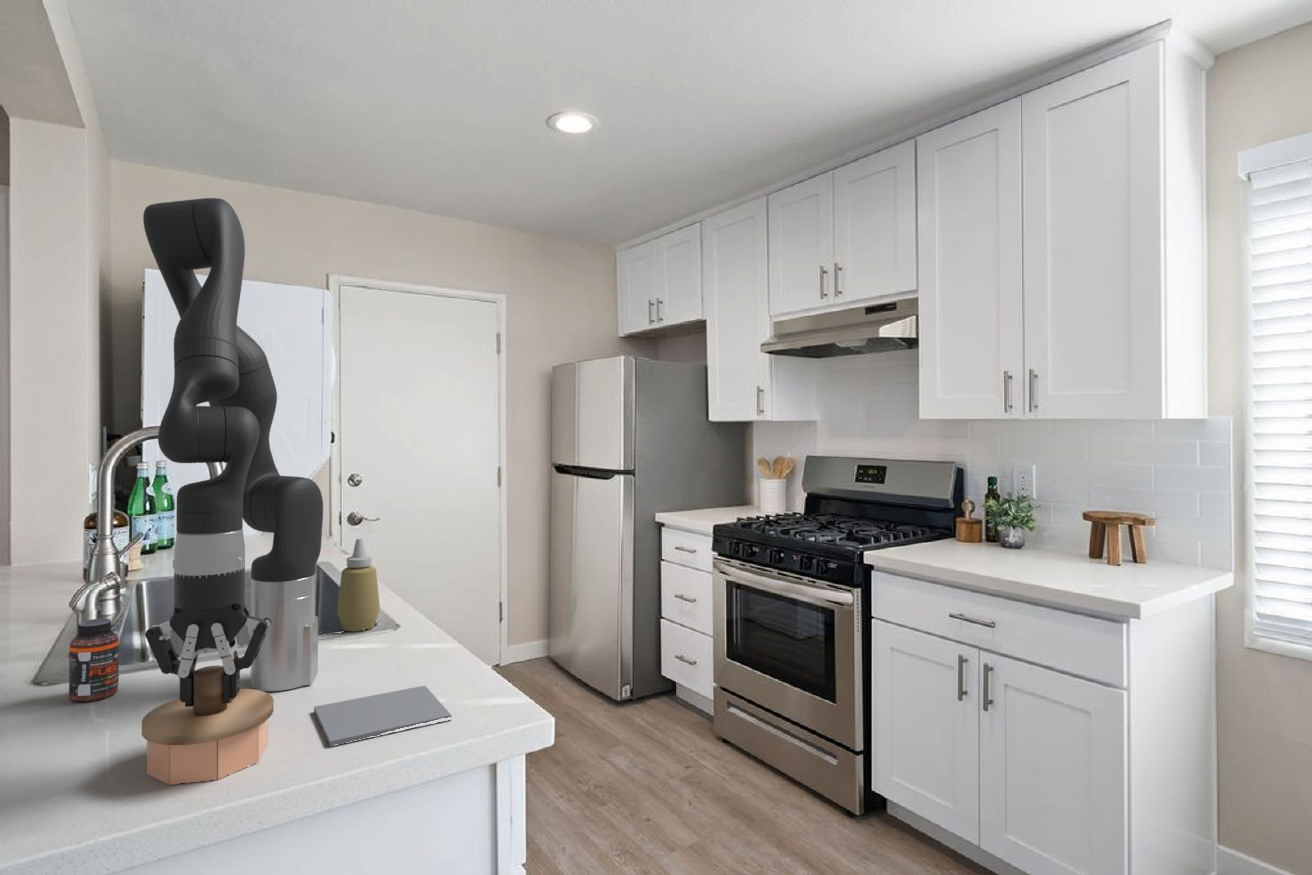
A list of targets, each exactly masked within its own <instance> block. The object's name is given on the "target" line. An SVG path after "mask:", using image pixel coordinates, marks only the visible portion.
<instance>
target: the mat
mask: <svg viewBox="0 0 1312 875" xmlns="http://www.w3.org/2000/svg"><path fill="white" fill-rule="evenodd" d="M313 708H314V709H313V713H314V712H315V713H314V715H315V714H316V715H315V718H318V719H317V721H319V722H318V723H320V724H319V726H320V725H321V726H320V728H321V727H322V728H321V730H322V729H323V730H322V732H323V731H324V733H323V735H324V734H325V735H324V737H325V736H326V737H325V739H326V738H327V739H326V741H327V740H328V742H327V744H328V743H329V744H328V746H329V745H330V746H333V745H335V744H342V743H346V742H350V741H354V740H359V739H363V738H367V737H370V736H377V735H380V734H382V733H385V732H388V731H394V730H396V729H400V728H404V727H409V726H413V725H416V724H420V723H427V722H430V721H434V720H438V719H441V718H448V717H451V718H452V714H451V713H450V711H448V709H447V708H446V707H445V706H444V705H443V703H441V702H440V700H439V699H438V698H437V697H436V696H435V695H434V694H433V692H431V690H430V689H429V688H428V687H427V686H426V685H420V686H414V687H410V688H406V689H405V688H404V689H400V690H393V691H388V692H385V693H379V694H372V695H369V696H363V697H358V698H353V699H348V700H342V701H338V702H332V703H331V702H330V703H326V704H321V705H317V706H313ZM330 746H329V747H330Z"/></svg>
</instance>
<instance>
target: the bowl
mask: <svg viewBox="0 0 1312 875" xmlns="http://www.w3.org/2000/svg"><path fill="white" fill-rule="evenodd" d="M268 745H269V718H268V719H267V720H266V721H265V722H263V723H262V724H260V725H258V726H257V727H255V728H253V729H251V730H248V731H246V732H243V733H241V734H238V735H235V736H231V737H228V738H224V739H220V740H216V741H211V742H205V743H199V744H190V745H163V744H157V743H153V742H150V741H148V740H146V769H147V770H146V773H147V775H148V776H150V777H152V778H154V779H156V780H158V781H161V782H162V783H164V784H167V785H168V786H175V785H181V784H180V783H185V784H191V782H193V783H201V781H204V782H211V781H210V780H213V781H217V780H218V779H219V778H221V779H224V778H226V777H228V776H230V775H232V774H233V775H234V774H235V773H237V771H238V772H240V771H242V770H244V769H243V768H245V767H247V766H248V765H252V766H254V765H255V764H254V763H256V762H258V761H259V762H260V761H261V759H260V758H262V757H263V755H262V754H265V751H266V750H267V748H268ZM265 749H266V750H265ZM261 756H262V757H261ZM259 762H258V763H259ZM253 764H254V765H253ZM256 764H257V763H256ZM247 768H248V767H247ZM245 769H246V768H245ZM239 770H240V771H239ZM227 775H228V776H227ZM225 776H226V777H225ZM219 780H220V779H219Z"/></svg>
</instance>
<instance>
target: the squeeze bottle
mask: <svg viewBox="0 0 1312 875" xmlns="http://www.w3.org/2000/svg"><path fill="white" fill-rule="evenodd" d="M340 574H341V577H340V583H339V593H338V601H337V602H338V604H337V608H336V609H337V610H336V613H337V617H338V618H339V622H340V625H341V627H342V630H344V631H346V632H347V631H348V632H359V631H358V630H363V629H368V630H370V629H373V628H374V627H375V625H376V622H377V619H378V616H379V613H380V611H381V606H380V605H381V604H380V595H379V586H378V585H379V584H378V576H377V575H378V574H377V568H375V567H374V566H372V556H371V555H366V550H365V545H364V541H363V539H362V538H357V539H356V540H355V543H354V547H353V552H352V556H348V557H346V567H345V568H344V569H342V570H341V573H340ZM363 631H364V630H363Z"/></svg>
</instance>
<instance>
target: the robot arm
mask: <svg viewBox="0 0 1312 875" xmlns="http://www.w3.org/2000/svg"><path fill="white" fill-rule="evenodd" d="M142 215H143V219H142V221H143V228H144V232H145V236H146V239H147V242H148V245H149V248H150V250H151V253H152V255H153V258H154V260H155V262H156V264H157V265H156V266H157V267H158V269H159V272H160V274H161V275H162V278H163V281H164V283H165V285H166V288H167V290H168V293H169V295H170V297H171V299H172V301H173V304H174V306H175V308H176V312H177V313H178V316H179V318H180V320H179V321H178V323H177V326H176V329H175V333H174V338H173V365H174V366H173V368H174V369H173V370H174V377H173V385H172V386H173V387H172V391H171V394H170V395H171V396H170V398H169V401H168V404H167V407H166V409H165V411H164V414H163V416H162V419H161V421H160V424H159V428H158V433H157V443H158V447H159V449H160V451H161V453H162V454H163V456H165V458H167V459H168V460H169V461H171V462H173V463H177V464H200V463H201V464H210V463H211V464H212V463H213V464H214V463H215V464H217V463H225V467H224V469H223V470H222V472H221V473H220V474H219V475H217V476H215V477H213V478H210V479H205V480H201V481H196V482H195V481H194V482H192V483H186V484H184V485H182V486H181V487H180V488H179V489H178V490H177V494H176V514H175V515H176V516H175V517H176V518H175V519H176V523H175V524H176V526H175V527H176V528H175V529H176V533H175V534H176V535H175V543H174V548H173V560H172V568H173V613H172V615H171V616H170V617H169V618H170V619H169V620H167V621H165V622H162V623H159V622H157V623H156V624H154V625H152V626H151V627H149V628H148V629H146V631H145V632H144V636H145V638H146V640H147V643H148V645H149V647H150V649H151V652H152V654H153V656H154V658H155V661H156V663H157V665H158V668H159V669H160V671H161V673H162V674H164V675H168V674H172V675H176V676H178V678H179V698H180V700H181V702H185V707H191V706H193V672H194V671H196V666H197V663H198V658H199V655H200V653H201V652H202V650H204V649H208V648H209V649H213V650H214V649H215V650H217V653H218V656H219V658H220V660H221V661H222V662H221V663H222V666H224V670H225V674H224V675H223V703H224V704H227V703H231V702H232V700H233V699H234V698H235V697H236V696H237V695H238V693H239V691H240V689H241V675H240V674H241V670H244V669H250V687H251V689H254V690H260V691H263V692H280V691H286V690H293V689H296V688H300V687H304V686H311V685H312V684H313V682H314V680H315V679H316V676H317V674H318V673H319V670H318V669H319V667H318V666H319V657H318V656H319V617H318V616H317V615H316V583H317V582H316V573H317V571H316V570H317V569H316V568H317V563H318V561H319V560H318V559H319V557H320V554H321V550H322V538H323V524H324V523H323V521H324V500H323V495H322V491H321V489H320V486H318V484H317V483H316V482H315V481H314V480H313V479H310V478H308V477H302V476H291V475H281V474H280V473H279V471H278V469H277V467H276V463H275V460H274V457H273V453H272V450H271V445H270V434H271V433H270V432H271V429H272V424H273V421H274V416H275V414H276V413H275V412H276V408H277V402H278V392H277V388H276V384H275V380H274V377H273V373H272V371H271V367H270V364H269V361H268V358H267V355H266V353H265V351H264V350H263V348H262V347H261V346H260V345H259V343H258V342H257V341H256V340H255V339H254V338H252V337H251V336H250V334H248V333H247V332H246V331H245V330H244V329H242V328H241V327H240V326H239V325H238V313H239V307H240V299H241V292H242V284H243V275H244V267H245V259H246V258H245V256H246V253H245V252H246V247H245V246H246V245H245V244H246V243H245V236H244V230H243V227H242V225H241V222H240V220H239V217H238V215H237V213H236V211H235V209H234V208H233V206H232V205H230V202H228V201H226V200H225V199H223V198H217V197H206V198H205V197H203V198H194V199H193V198H192V199H184V200H174V201H166V202H158V203H152V204H150V205H148V206H146V207H145V208H144V211H143V214H142ZM202 269H204V270H205V269H209V270H210V271H209V273H208V276H207V278H205V281H204V283H203V285H201V284H200V281H199V280H198V278H197V276H196V273H195V271H194V270H202ZM207 402H208V404H209V405H199V404H203V403H207ZM243 521H244V522H243ZM243 523H246V525H247V526H249V528H251V529H252V530H255V531H256V532H257V531H258V532H261V533H269V534H270V533H272V534H273V538H272V545H271V546H272V547H271V550H270V551H269V552H268V553H267V554H263V555H260V556H258V557H256V558H255V559H254V560H252V563H251V565H250V566H251V568H250V569H251V570H250V571H251V572H250V576H251V579H250V580H251V581H250V582H251V584H250V587H251V588H250V594H251V595H250V612H249V611H248V609H247V607H246V602H245V601H246V580H245V579H246V544H245V538H244V529H243V527H244V526H243V525H244V524H243ZM244 626H247V629H248V630H247V633H248V635H249V636H250V640H249V643H248V645H247V648H246V650H245V653H244V654H243V656H241V657H240V654H239V653H240V652H239V645H238V640H237V635H238V634H239V633H240V631H241V630H242V629H243V628H244ZM172 630H173V632H174V633H175V634H176V635H177V636H178V637H179V639H180V640H182V642H183V643H184V644H183V647H182V650H181V655H180V658H179V657H178V655H177V652H176V650H175V648H174V645H173V644H172V641H171V639H170V638H171V637H172V636H173V633H172Z"/></svg>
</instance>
